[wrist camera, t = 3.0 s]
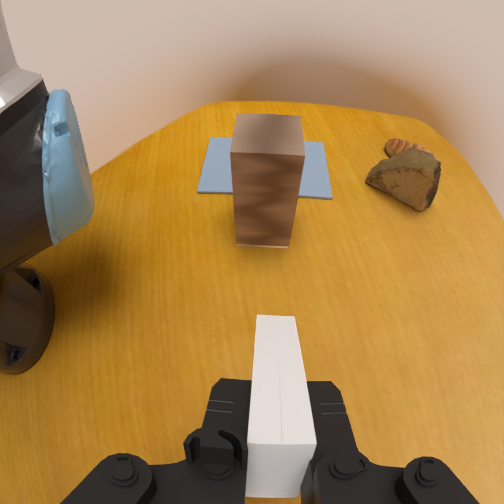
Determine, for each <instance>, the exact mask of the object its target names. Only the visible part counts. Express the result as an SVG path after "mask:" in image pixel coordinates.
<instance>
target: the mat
mask: <svg viewBox="0 0 504 504" xmlns="http://www.w3.org/2000/svg"><path fill="white" fill-rule="evenodd" d="M232 138H233V137H211V138H210V141H209V145H208V149H207V153H206V157H205V161H204V165H203V169H202V173H201V177H200V181H199V185H198V190H197V193H209V194H233V189H232V175H231V161H230V149H231V143H232ZM304 149H305V160H304V166H303V172H302V178H301V184H300V189H299V195H298V197H302V198H316V199H329V200H332V192H331V186H330V179H329V173H328V167H327V162H326V156H325V151H324V145H323V143H322V142H311V141H304Z"/></svg>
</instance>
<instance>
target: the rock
mask: <svg viewBox="0 0 504 504" xmlns="http://www.w3.org/2000/svg"><path fill="white" fill-rule="evenodd" d="M440 165H441V162H440V161H437V160H436V159H435V157H434V156H433V155H431V154H430V153H428V152H425V151H421V150H419V149H414V148H412V147H410V148H408V149H407V150H405V151H404V152H402V153H400V154H397V155H395V156H393V157H391V158H389V159H383V160H382V161H380V162H379V163H378V164H377V165H376V166H375V167H373V168H372V169H371V171H370V172H369V174H368V176H367V178H366V180H365V181H366V182H367V183H368V184H370V185H372V186H374V187H376V188H378V189H380V190H382V191H384V192H385V193H388V194H390V195H391V196H393V197H395V198H396V199H398V200H400V201H402V202H403V203H405V204H407V205H409V206H412V207H413V208H414V209H416V210H418V211H423V210H425V209H426V208H428V207H429V206H430V205H431V203H432V201H433V200H434V197H435V195H436V193H437V190H438V183H439V178H440V171H441V168H440Z"/></svg>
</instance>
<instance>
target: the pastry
mask: <svg viewBox="0 0 504 504" xmlns="http://www.w3.org/2000/svg"><path fill="white" fill-rule="evenodd" d="M410 147H412V148H414V149H419V150H421V151H425V152H428V153H430V154H431V155H433V156H434V157H435V159H436V158H437V157H436V154H435V153H431V152H430V151H428V150H427V149H425V148H424V147H422V146H421V145H420V144H417V143H411V142H407V141H405V140H400V139H395V138H394V139H390V140H389V141H388V142H386V144H385V149H386V152H387V154H388V155H389V156H390V157H393V156H395V155H397V154H400V153H402V152H404V151H405V150H407V149H408V148H410Z"/></svg>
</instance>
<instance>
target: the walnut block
mask: <svg viewBox="0 0 504 504" xmlns="http://www.w3.org/2000/svg"><path fill="white" fill-rule="evenodd" d="M304 160H305V149H304V140H303V132H302V124H301V116H290V115H274V114H249V113H237V116H236V121H235V126H234V132H233V138H232V143H231V149H230V161H231V175H232V189H233V202H234V216H235V228H236V241H237V246H251V247H271V248H289V243H290V238H291V232H292V227H293V222H294V217H295V211H296V206H297V200H298V195H299V189H300V184H301V178H302V172H303V166H304Z"/></svg>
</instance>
